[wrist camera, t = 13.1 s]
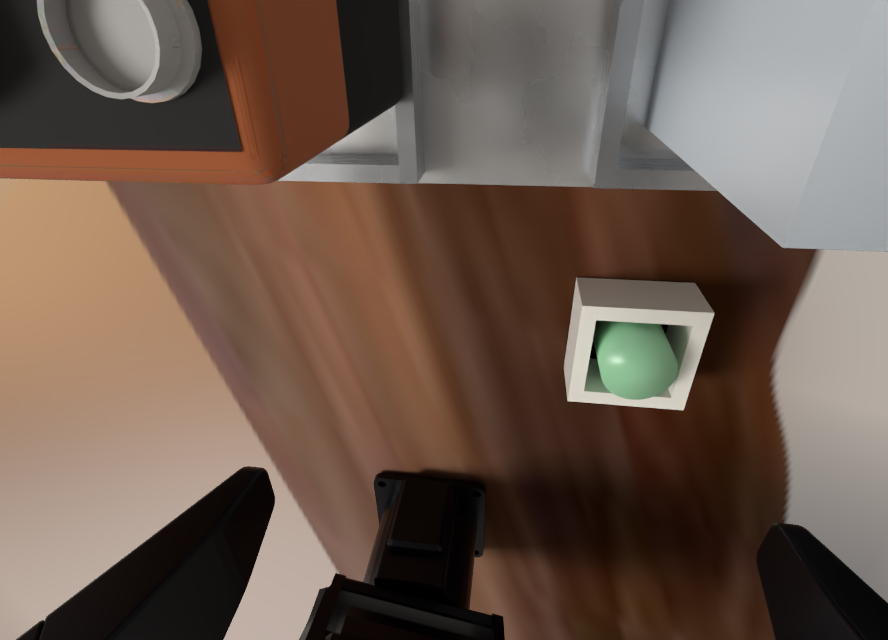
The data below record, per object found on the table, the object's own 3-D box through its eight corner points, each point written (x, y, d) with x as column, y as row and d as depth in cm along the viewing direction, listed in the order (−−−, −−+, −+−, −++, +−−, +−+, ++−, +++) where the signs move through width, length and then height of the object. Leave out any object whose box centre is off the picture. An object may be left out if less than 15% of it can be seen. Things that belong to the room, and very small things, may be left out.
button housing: (669, 374, 22) (683, 410, 20) (563, 367, 23) (567, 400, 21) (695, 283, 20) (714, 313, 18) (576, 277, 20) (582, 305, 18)
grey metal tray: (804, 182, 17) (846, 206, 15) (248, 170, 20) (212, 189, 18) (979, -288, 11) (1093, -365, 9) (161, -213, 14) (91, -257, 12)
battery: (163, -62, 14) (-413, -193, 5) (398, -72, 13) (153, -250, 4) (206, 105, 16) (-150, 198, 8) (406, 106, 15) (257, 213, 7)
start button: (653, 360, 21) (668, 402, 19) (588, 356, 22) (595, 396, 19) (667, 305, 20) (686, 343, 18) (597, 302, 20) (606, 339, 18)
